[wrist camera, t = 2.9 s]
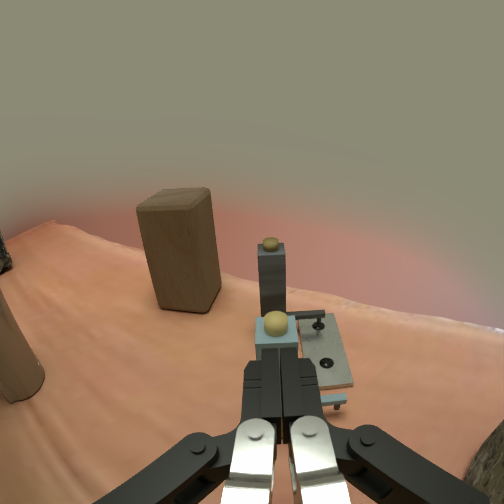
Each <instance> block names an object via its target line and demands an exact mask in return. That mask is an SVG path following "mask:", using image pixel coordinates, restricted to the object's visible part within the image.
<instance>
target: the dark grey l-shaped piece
mask: <svg viewBox="0 0 504 504" xmlns="http://www.w3.org/2000/svg"><path fill="white" fill-rule="evenodd" d="M285 268H286V264H285V249H284V243H279V242H278V239H277V238H273V237H271V238H266V239H264V240H263V244H258V271H259V287H260V304H261V317H264V316H265V315H266V314H267V313H269V312H272V311H281V312H283V313H285V314H286V315H287V316H293V315H295V320H301V319H316V318H317V323H316V324H317V325H321V318H325V311H324V310H313V311H296V312H286V269H285ZM281 439H283V428H282V419H281Z"/></svg>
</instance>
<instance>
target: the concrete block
mask: <svg viewBox="0 0 504 504" xmlns="http://www.w3.org/2000/svg"><path fill="white" fill-rule="evenodd" d="M464 482H465V483H467V484H468V485H470V486H472V487H474V488H476V489H477V490H479V491H481V492H483V493H485V494H486V495H487V496H488V498H489V500H490V504H504V420H503V421H502V422H501V423H500V425H499V426H498V427H497V428H496V429H495V430H494V431H493V432H492V433H491V435H490V436H489V437H488V438H487V439H486V440H485V442H484V443H483V444H482V446H481V447H480V449H479V451H478V452H477V454H476V456H475V458H474V460H473V461H472V464H471V466H470V469H469V471H468V473H467V475H466V477H465V480H464Z"/></svg>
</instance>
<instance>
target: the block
mask: <svg viewBox="0 0 504 504" xmlns="http://www.w3.org/2000/svg"><path fill="white" fill-rule="evenodd" d="M136 213H137V218H138V223H139V228H140V232H141V237H142V241H143V246H144V250H145V255H146V259H147V263H148V267H149V271H150V275H151V279H152V283H153V287H154V290H155V294H156V298H157V301H158V305H159V306H160V307H161V308H164V309H173V310H182V311H191V312H201V313H204V312H207V311H208V310H209V308H210V306H211V304H212V302H213V300H214V298H215V296H216V294H217V292H218V290H219V288H220V286H221V275H220V269H219V261H218V252H217V244H216V236H215V228H214V219H213V212H212V202H211V195H210V190H209V189H208V188H205V187H201V188H181V189H164V190H162V191H160V192H158V193H156V194H155V195H153V196H152V197H150V198H148V199H147V200H145V201H144V202H142V203H140V204H139V205H138V206H137V208H136Z"/></svg>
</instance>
